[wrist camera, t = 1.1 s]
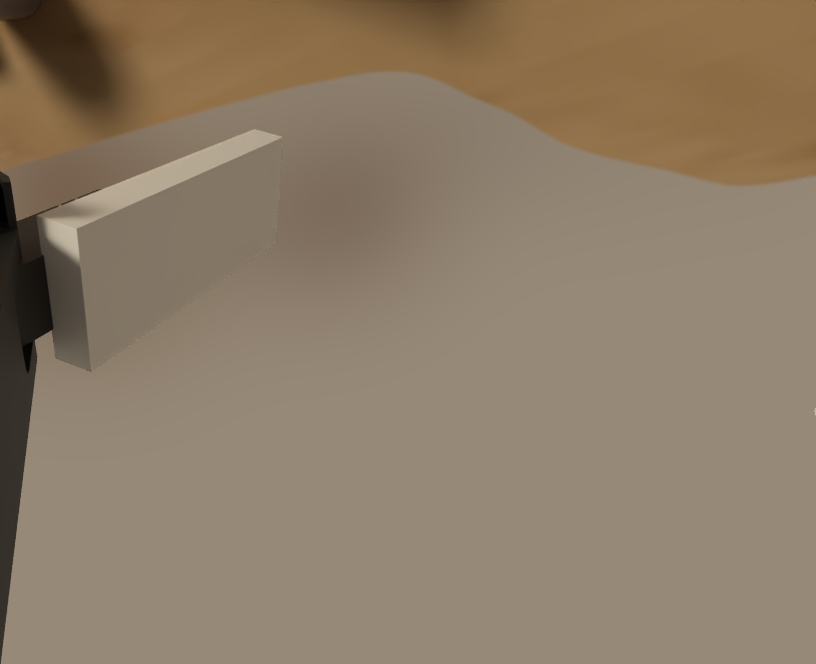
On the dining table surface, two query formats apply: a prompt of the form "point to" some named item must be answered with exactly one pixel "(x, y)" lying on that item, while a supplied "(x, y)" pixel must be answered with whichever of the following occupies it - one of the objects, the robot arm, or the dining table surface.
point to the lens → (17, 8)
